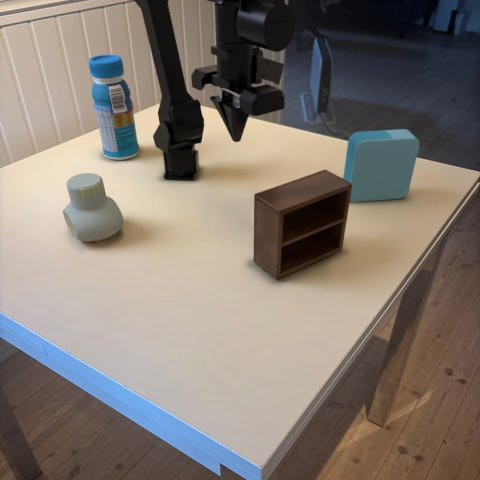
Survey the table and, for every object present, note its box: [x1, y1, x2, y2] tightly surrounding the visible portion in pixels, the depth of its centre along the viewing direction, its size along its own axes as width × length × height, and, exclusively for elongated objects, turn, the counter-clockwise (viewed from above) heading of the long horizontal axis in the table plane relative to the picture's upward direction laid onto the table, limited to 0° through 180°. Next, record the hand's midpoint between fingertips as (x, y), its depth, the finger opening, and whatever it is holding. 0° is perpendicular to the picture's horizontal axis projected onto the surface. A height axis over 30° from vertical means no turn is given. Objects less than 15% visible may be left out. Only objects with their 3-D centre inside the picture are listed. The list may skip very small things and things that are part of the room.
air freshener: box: [62, 172, 125, 242], centre depth 84 cm, size 11×8×10 cm
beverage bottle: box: [88, 54, 140, 161], centre depth 106 cm, size 8×8×20 cm
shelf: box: [252, 169, 352, 280], centre depth 76 cm, size 6×14×12 cm, turn 125°
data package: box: [342, 128, 420, 203], centre depth 92 cm, size 12×4×12 cm, turn 97°
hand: (236, 141), depth 84 cm, fingers closed
